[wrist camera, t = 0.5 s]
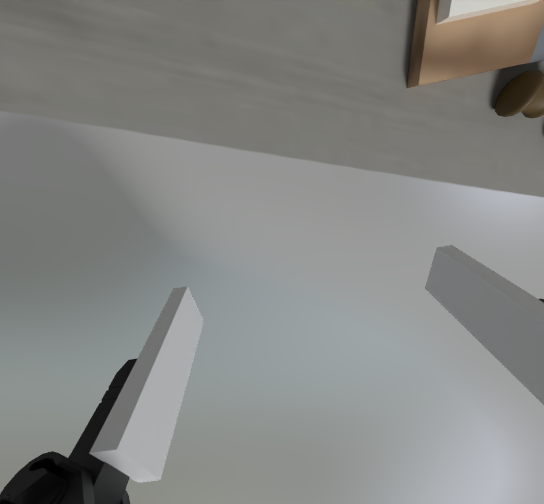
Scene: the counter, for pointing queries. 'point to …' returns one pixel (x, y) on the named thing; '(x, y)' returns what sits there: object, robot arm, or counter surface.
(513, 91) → the kendama
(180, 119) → the counter surface
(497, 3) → the stone tile
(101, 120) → the counter surface
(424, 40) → the tan wooden board
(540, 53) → the mat
